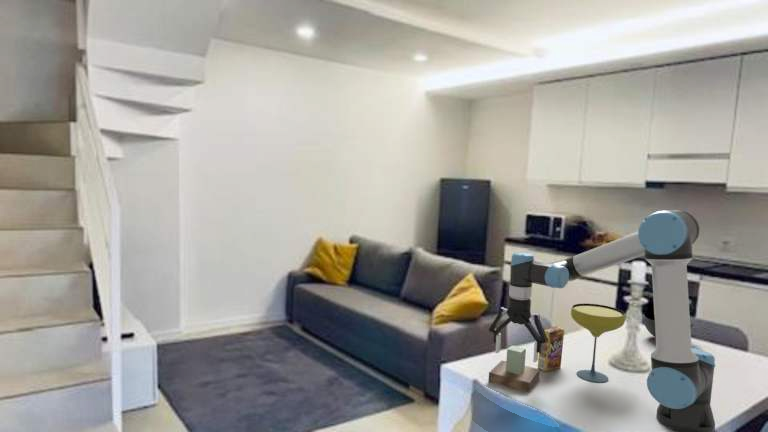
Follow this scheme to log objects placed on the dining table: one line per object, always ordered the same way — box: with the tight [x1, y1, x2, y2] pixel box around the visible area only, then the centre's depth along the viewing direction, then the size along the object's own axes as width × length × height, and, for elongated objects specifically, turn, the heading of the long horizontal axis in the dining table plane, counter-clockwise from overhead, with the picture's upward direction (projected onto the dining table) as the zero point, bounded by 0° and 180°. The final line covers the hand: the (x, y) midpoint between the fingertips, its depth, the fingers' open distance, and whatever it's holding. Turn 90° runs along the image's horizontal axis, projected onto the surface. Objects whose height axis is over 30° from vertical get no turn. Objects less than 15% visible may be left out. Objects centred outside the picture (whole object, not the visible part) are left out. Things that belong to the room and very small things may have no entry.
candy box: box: [537, 326, 565, 372], centre depth 190 cm, size 9×4×15 cm, turn 123°
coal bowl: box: [642, 299, 694, 338], centre depth 229 cm, size 20×20×19 cm
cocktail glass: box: [570, 303, 626, 384], centre depth 183 cm, size 18×18×25 cm
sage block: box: [505, 345, 527, 375], centre depth 177 cm, size 5×5×8 cm
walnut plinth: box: [488, 360, 541, 394], centre depth 178 cm, size 14×14×4 cm
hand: (516, 356), depth 177 cm, fingers open, 13 cm apart
